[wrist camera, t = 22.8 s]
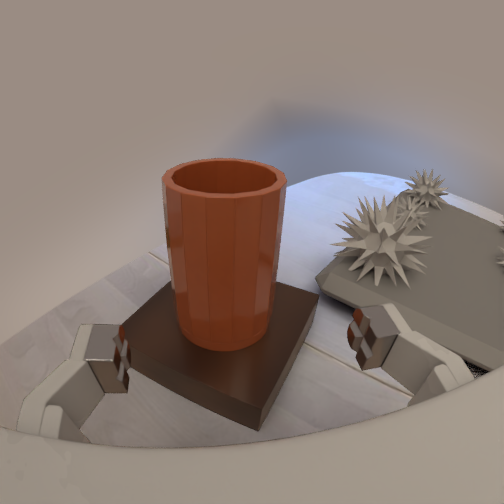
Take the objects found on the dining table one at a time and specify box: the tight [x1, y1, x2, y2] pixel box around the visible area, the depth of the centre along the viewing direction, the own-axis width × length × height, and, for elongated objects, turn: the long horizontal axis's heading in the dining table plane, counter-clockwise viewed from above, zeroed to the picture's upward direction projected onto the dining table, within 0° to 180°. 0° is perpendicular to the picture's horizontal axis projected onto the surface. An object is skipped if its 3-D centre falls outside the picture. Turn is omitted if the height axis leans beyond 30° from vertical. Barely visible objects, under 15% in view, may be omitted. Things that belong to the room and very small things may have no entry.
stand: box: [122, 281, 319, 431], centre depth 22 cm, size 11×11×3 cm
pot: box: [162, 158, 287, 352], centre depth 19 cm, size 6×6×10 cm
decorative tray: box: [315, 170, 504, 372], centre depth 31 cm, size 35×26×10 cm
